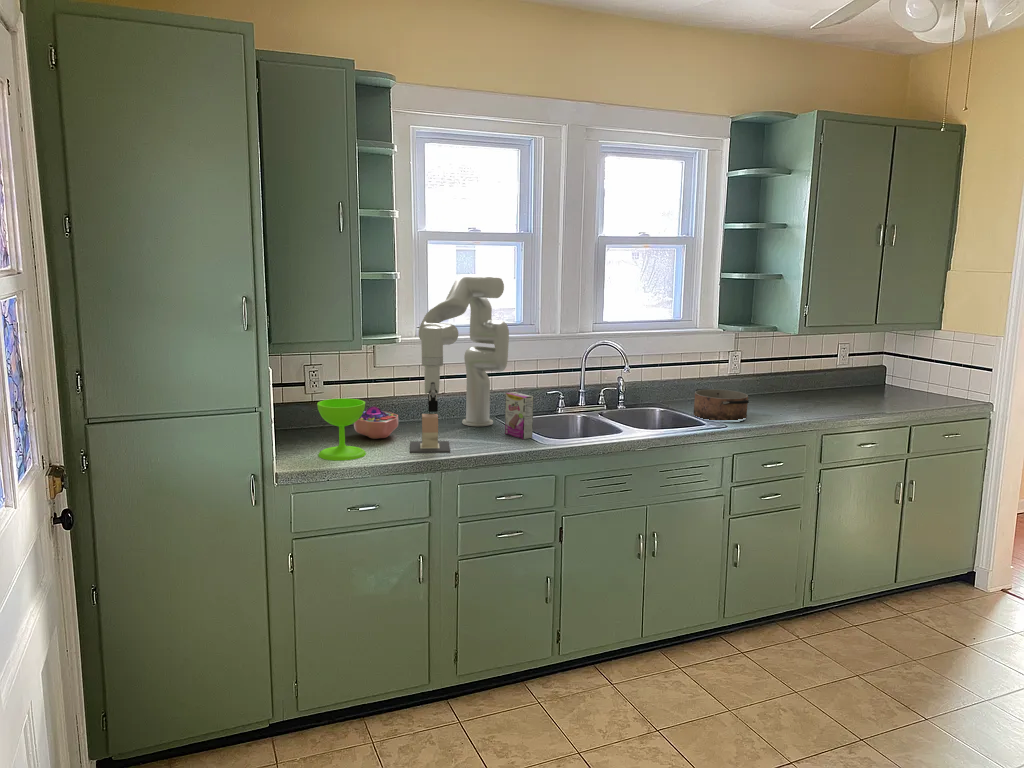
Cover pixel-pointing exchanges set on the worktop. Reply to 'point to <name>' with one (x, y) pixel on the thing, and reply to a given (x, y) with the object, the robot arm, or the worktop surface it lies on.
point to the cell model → (376, 423)
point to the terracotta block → (429, 423)
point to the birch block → (430, 440)
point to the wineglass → (341, 426)
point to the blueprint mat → (417, 448)
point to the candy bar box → (519, 415)
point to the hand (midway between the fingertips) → (432, 408)
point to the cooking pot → (720, 404)
